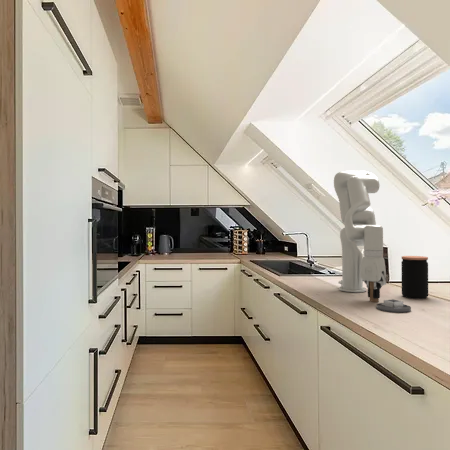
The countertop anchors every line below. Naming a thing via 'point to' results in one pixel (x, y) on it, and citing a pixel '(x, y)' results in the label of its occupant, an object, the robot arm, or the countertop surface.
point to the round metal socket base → (393, 306)
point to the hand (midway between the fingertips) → (373, 297)
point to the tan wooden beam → (372, 293)
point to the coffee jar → (415, 277)
